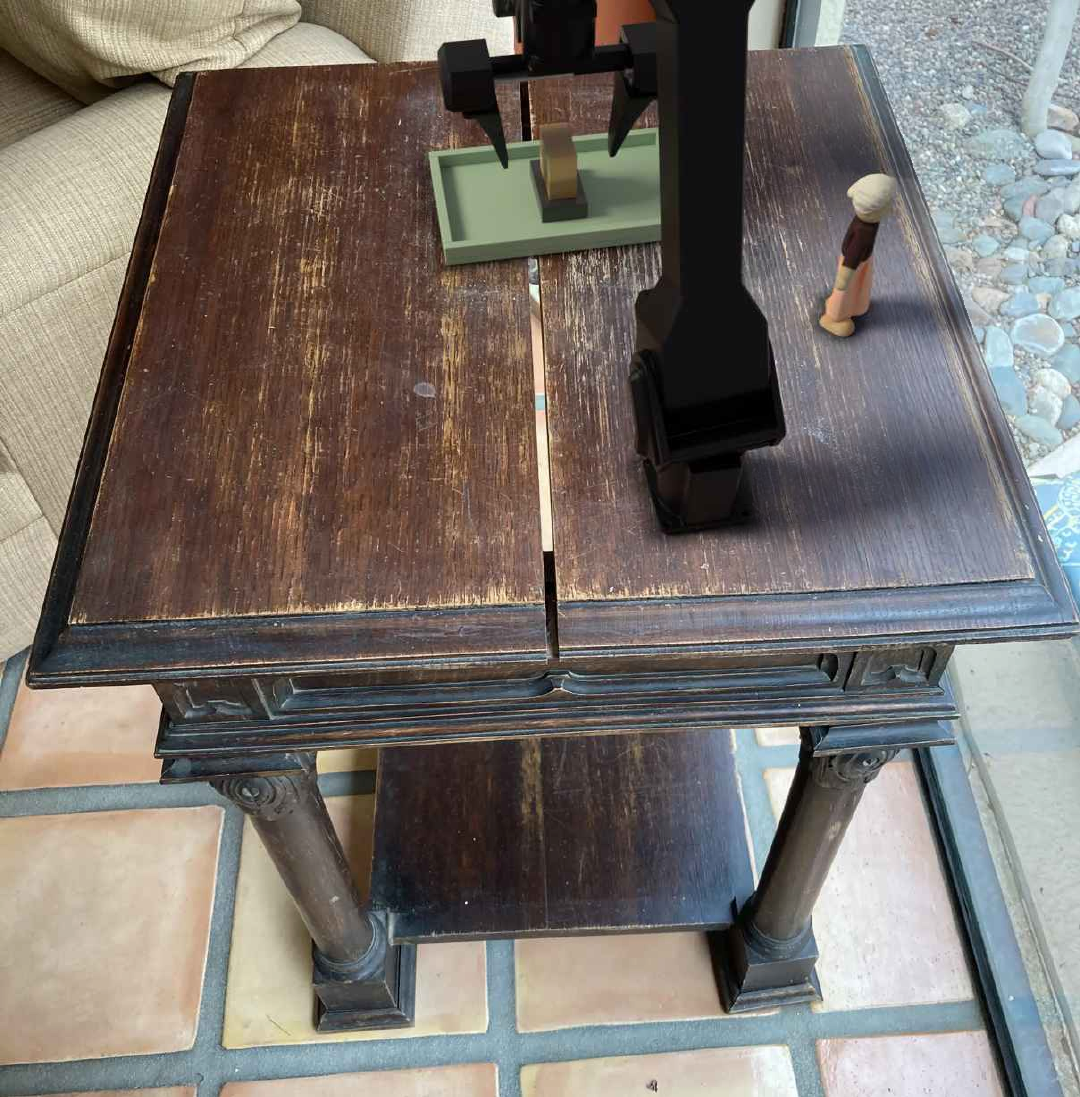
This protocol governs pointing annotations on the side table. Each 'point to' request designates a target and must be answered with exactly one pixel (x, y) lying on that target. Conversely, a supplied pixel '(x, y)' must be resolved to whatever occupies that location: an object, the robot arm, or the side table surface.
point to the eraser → (558, 176)
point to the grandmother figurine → (858, 253)
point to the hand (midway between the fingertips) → (558, 160)
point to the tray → (511, 207)
